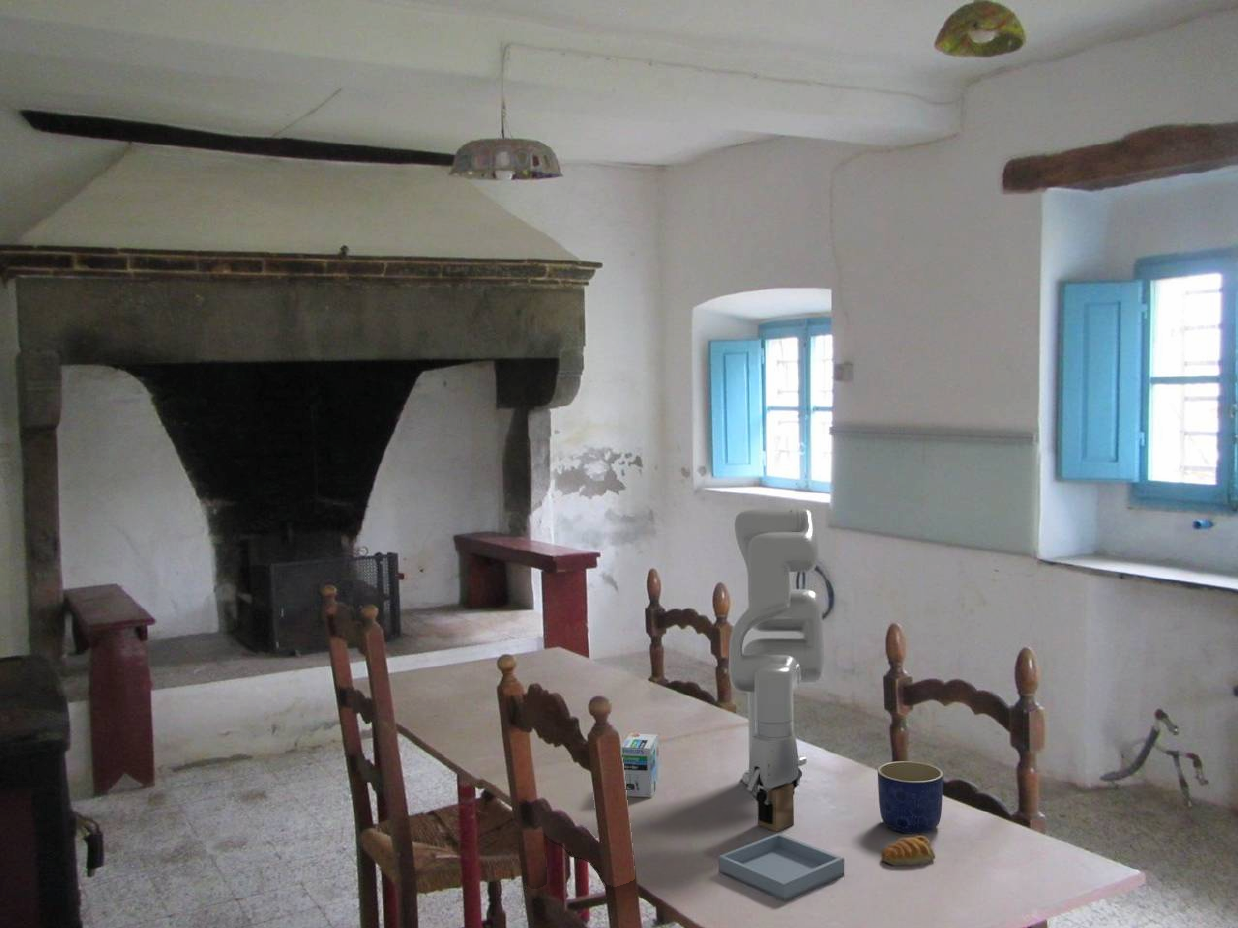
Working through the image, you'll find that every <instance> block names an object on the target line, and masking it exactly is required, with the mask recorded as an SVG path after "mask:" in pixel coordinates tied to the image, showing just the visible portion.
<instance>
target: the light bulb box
mask: <svg viewBox="0 0 1238 928" xmlns="http://www.w3.org/2000/svg"><path fill="white" fill-rule="evenodd" d="M659 742H660V741H659V735H658V734H651V733H650V734H649V733H647V734H646V733H634V732H633V733H628V735H627V737H626V739H625V741H623V743H622V745H621V747H620V750H621V749H622V757H623V763H624V771H625V781H626V790H627V795H628V796H627V797H635V798H636V797H637V798H652V797H653V795H654V793H655V792H656V790H657V788H658V786H659V784H660V754H659V753H660V747H659Z"/></svg>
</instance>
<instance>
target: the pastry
mask: <svg viewBox="0 0 1238 928" xmlns="http://www.w3.org/2000/svg"><path fill="white" fill-rule="evenodd" d="M935 859H936V854H935V851H934V848H933V846H932V845H931V842H930V839H928V838H927V837H926V836H924V835H920V836H919V835H915V836H914V837H906V838H905V837H904V838H903V837H902V838H899V839H898V840H896V841H895V842H894V843H892V844H890V845H888V846H887V847H885V848H884V849H883V850H882V852H881V860H882V861H883V862H886V863H887V864H890V865H892V866H896V867H898V866H909V867H910V866H918V865H923V864H924V865H925V864H928V863H932V862H934V860H935Z"/></svg>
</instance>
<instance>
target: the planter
mask: <svg viewBox="0 0 1238 928" xmlns="http://www.w3.org/2000/svg"><path fill="white" fill-rule="evenodd" d="M877 789H878V803H879V804H878V805H879V811H880V816H881V819H882V821H883V822H884V824H885V825H887V826H888V828H891V830H892V829H893V830H894V831H898V832H901V833H905V834H906V833H907V834H923V833H924V834H925V833H928V832H930V831H933V830H934V829H936V828H937V827H938V826H939V824H940V822H941V818H942V811H943V794H944V793H943V792H944V772H943V771H942V769H940V768H939V767H937V766H935V765H932V764H929V763H924V762H919V761H909V760H908V761H907V760H903V761H902V760H901V761H891V762H886V763H883V764H881V765H880V766H879V767H878V768H877Z"/></svg>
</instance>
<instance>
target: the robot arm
mask: <svg viewBox="0 0 1238 928" xmlns="http://www.w3.org/2000/svg"><path fill="white" fill-rule="evenodd" d="M734 532H735V537H736V541H737V545H738V548H739V551H740V553H741V555H742V558H743V561H744V563H745V567H746V570H747V597H748V598H747V600H748V602H747V603H748V604H747V605H748V608H747V609H746V610H745V611H744V612H743V613H742V615H741V616H740V617H739V618H738V620H737V621H736V623H735V624H734V626H733V628H732V632H731V634H730V638H729V644H728V645H729V646H728V656H729V657H728V659H729V660H728V663H729V664H728V665H729V667H728V669H729V671H728V672H729V681H730V684H731V687H732V688H733V689H734V690H735V691H736V692H740V693H746V694H747V714H748V717H747V718H748V723H747V724H748V725H747V726H748V769H747V770H745V771H744V772H743V773H742V775H741V778H742V782H743V783H744V784H745V785H746V786H747V787H746V788H747V789H746V791H747V792H748V793H749V794H751V795H752V796H753V798H754V799H755V800H756V802H757V801H758V803H759V820H760V821H762V822H765V823H768V824H772V822H773V819H772V804H771V803H770V800H771V794H772V789H773V788H775V787H778V786H781V785H784V784H791V785H793V796H794V795H795V793H796V792H795V789H796V787H797V786H798V785H799V784H800V782H801V777H802V776H803V772H802V770H801V769H800V767H802V766H804V765H806V764H807V758H806V757H805V756H804V755H801V756H799V753H798V752H799V751H798V745H797V744H798V743H797V738H796V734H795V733H796V732H794V730H795V728H794V725H795V724H794V723H795V718H794V691H795V690H796V688H797V687H798V685H799V684H802V683H807V684H808V683H816V682H818V681H821V679H822V678H823V677H824V673H825V647H824V629H823V628H824V627H823V625H824V624H823V613H822V612H823V610H822V605H821V600H820V597H819V595H818V594H817V593H816V592H815V591H814V590H811V589H806V588H791V579H790V578H791V577H790V573H809V572H812V571H814V570H815V569H816V567H817V565H818V562H819V561H818V560H819V545H818V543H819V541H818V537H817V536H818V535H817V527H816V522H815V518H814V515H813V513H812V512H811V510H808V509H806V508H753V509H747V510H743V511H741V512H739V513H738V514H737V515H736V518H735V520H734ZM751 629H754V630H755V631H757V632H763V633H797V634H800V636H802V638H793V637H792V638H788V637H787V638H785V637H770V638H769V637H767V638H757V639H753V640H751V641H749V642H748V643H746V645H745V646H744V648H743V642H744V640H745V636H746V635H747V634H748V633H749V632H750V630H751ZM757 788H758V789H757ZM763 790H766V793H765V795H764V794H763Z"/></svg>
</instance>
